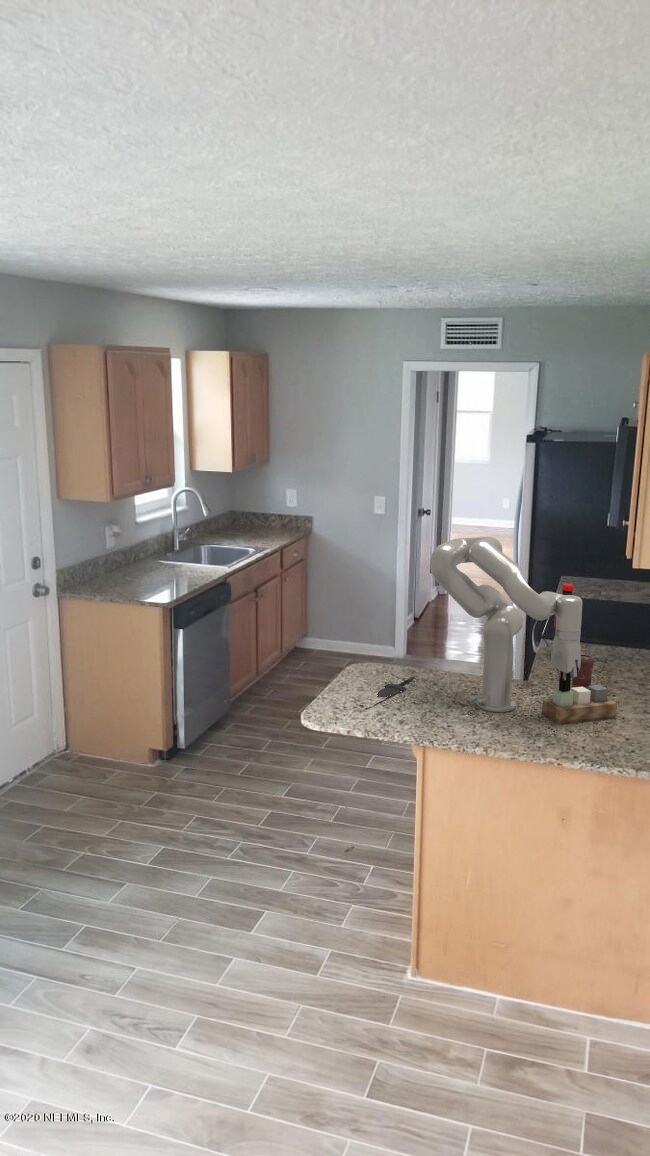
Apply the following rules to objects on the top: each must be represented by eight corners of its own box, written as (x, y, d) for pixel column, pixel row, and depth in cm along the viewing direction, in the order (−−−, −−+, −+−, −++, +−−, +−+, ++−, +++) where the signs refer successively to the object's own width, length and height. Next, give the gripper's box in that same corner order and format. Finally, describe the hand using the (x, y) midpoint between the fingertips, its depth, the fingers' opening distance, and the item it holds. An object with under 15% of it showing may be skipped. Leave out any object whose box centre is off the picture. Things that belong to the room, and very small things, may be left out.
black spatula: (350, 708, 290) (350, 702, 289) (405, 678, 318) (405, 672, 317) (369, 712, 286) (369, 706, 285) (422, 681, 313) (422, 676, 313)
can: (591, 699, 298) (594, 660, 295) (571, 698, 299) (575, 658, 296) (589, 693, 304) (592, 654, 301) (570, 692, 305) (573, 653, 302)
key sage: (559, 714, 278) (561, 693, 276) (551, 709, 282) (553, 689, 280) (571, 713, 279) (573, 692, 277) (563, 708, 283) (565, 687, 281)
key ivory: (577, 713, 280) (578, 692, 278) (569, 708, 284) (570, 687, 282) (589, 711, 281) (590, 691, 280) (580, 707, 285) (582, 686, 284)
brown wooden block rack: (559, 725, 275) (560, 710, 274) (541, 714, 284) (542, 699, 283) (615, 717, 282) (617, 703, 280) (596, 707, 291) (598, 692, 290)
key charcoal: (594, 711, 282) (596, 690, 280) (586, 706, 286) (588, 685, 284) (606, 709, 283) (607, 689, 282) (597, 705, 287) (599, 684, 286)
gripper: (544, 629, 281) (541, 684, 284) (571, 642, 267) (567, 699, 270) (564, 627, 283) (561, 682, 287) (592, 640, 269) (588, 697, 273)
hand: (564, 690), depth 279 cm, fingers closed
